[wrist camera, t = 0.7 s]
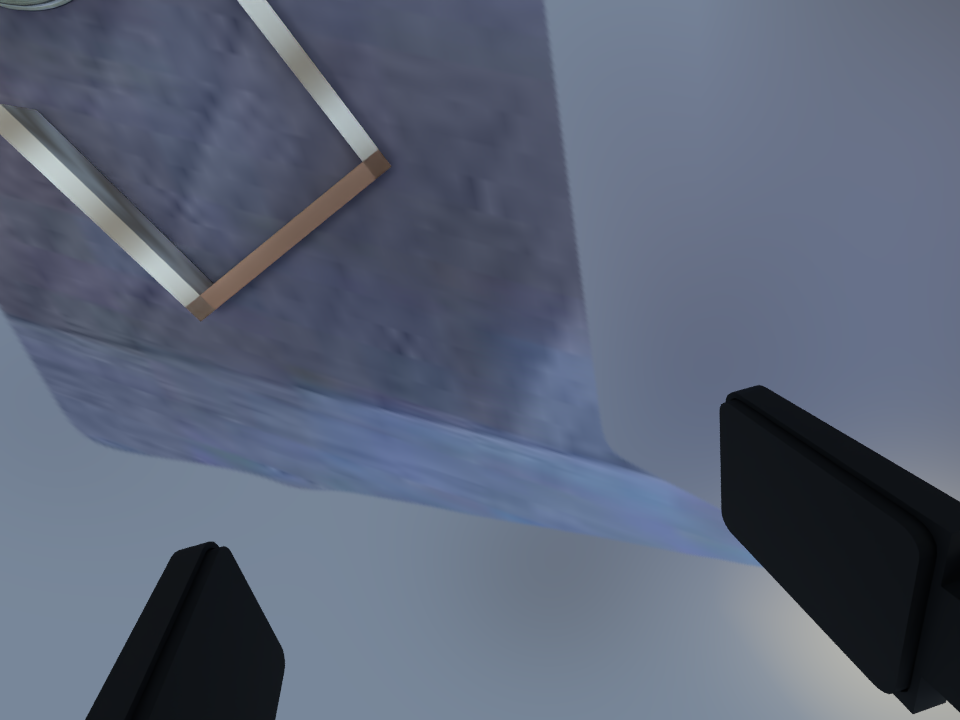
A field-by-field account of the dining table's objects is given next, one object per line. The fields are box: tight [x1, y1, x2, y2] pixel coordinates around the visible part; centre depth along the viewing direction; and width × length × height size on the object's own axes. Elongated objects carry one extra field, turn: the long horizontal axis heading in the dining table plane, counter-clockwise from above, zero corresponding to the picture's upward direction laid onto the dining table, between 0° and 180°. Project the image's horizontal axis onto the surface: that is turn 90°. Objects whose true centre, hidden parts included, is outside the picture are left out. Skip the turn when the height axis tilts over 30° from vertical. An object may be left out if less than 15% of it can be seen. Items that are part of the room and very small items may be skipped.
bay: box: [0, 0, 391, 321], centre depth 30 cm, size 14×15×3 cm
